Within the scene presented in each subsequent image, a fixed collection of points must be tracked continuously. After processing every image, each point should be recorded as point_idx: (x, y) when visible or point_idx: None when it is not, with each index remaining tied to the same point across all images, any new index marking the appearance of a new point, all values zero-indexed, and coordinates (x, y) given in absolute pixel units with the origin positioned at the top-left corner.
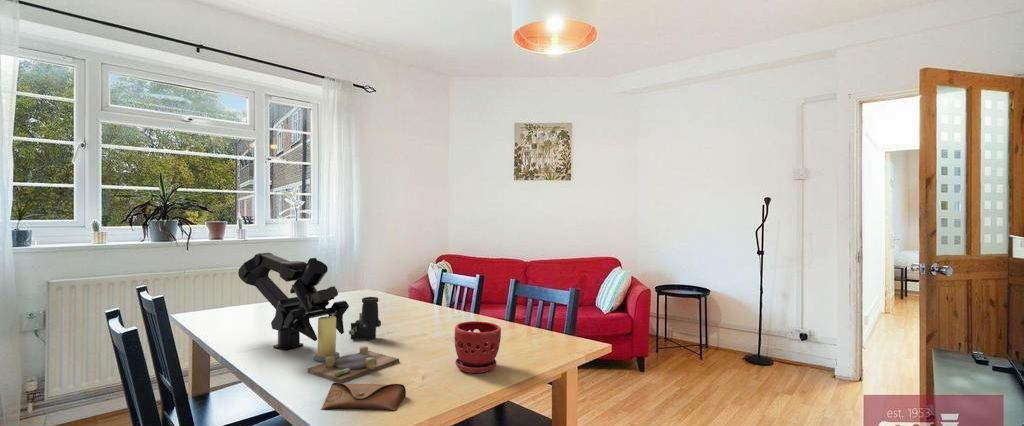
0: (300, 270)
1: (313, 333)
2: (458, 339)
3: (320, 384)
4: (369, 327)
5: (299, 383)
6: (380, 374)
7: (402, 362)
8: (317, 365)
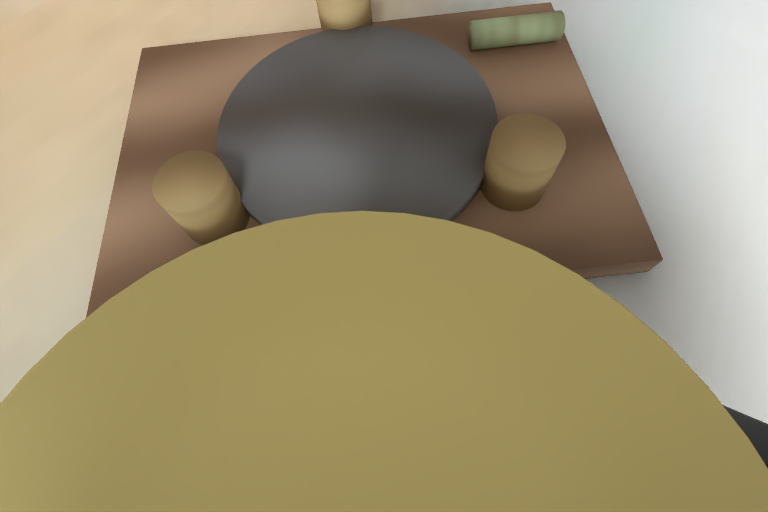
0: None
1: (748, 422)
2: None
3: (633, 60)
4: None
5: (736, 133)
6: None
7: None
8: (579, 267)
